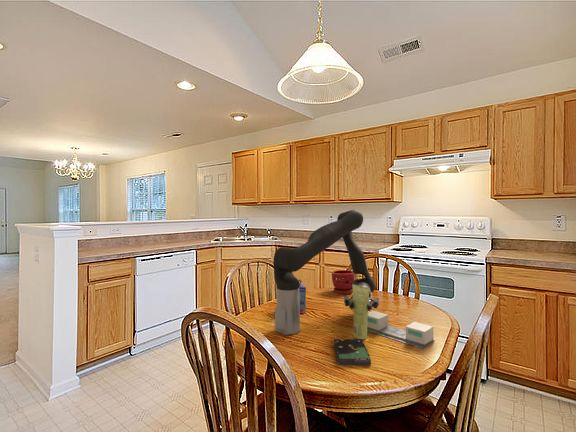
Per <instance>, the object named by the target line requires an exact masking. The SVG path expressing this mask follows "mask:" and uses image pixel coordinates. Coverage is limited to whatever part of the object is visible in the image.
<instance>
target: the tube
mask: <svg viewBox="0 0 576 432" xmlns="http://www.w3.org/2000/svg"><path fill="white" fill-rule="evenodd" d="M352 287H353V292H352V296H353V310H352V311H353V337H354V338H355V339H362V340H366V339H367V338H368V331H367V321H368V312H369V311H368V302H369V291H370V288H368V287H363V286H358V285H354V284H352Z"/></svg>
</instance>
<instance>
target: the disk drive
mask: <svg viewBox="0 0 576 432" xmlns="http://www.w3.org/2000/svg"><path fill="white" fill-rule="evenodd" d="M333 348H334V351H335V356H336V363H337V365H338V366H371V365H372V360H371V356H370V354H369V351H368V349H367V347H366V345H365V342H364V339H357V338H355V339H354V338H353V339H352V338H345V339H344V340H341V339H340V338H333Z"/></svg>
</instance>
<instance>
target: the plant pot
mask: <svg viewBox="0 0 576 432" xmlns="http://www.w3.org/2000/svg"><path fill="white" fill-rule="evenodd" d="M355 275H356V274H354V273H353V271H352V270H350V269H349V270H348V269H342V270H341V269H339V270H332V271H331V281H332V284H333V291H334V292H335V293H337V294H341V295H342V294H343V295H344V294H345V295H346V294H348V295H349V294H353V289H352V282H353V281H354V280H355V277H356V276H355Z"/></svg>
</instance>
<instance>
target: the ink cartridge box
mask: <svg viewBox="0 0 576 432" xmlns="http://www.w3.org/2000/svg"><path fill="white" fill-rule="evenodd" d="M298 280H299V285H300V287H299V288H300V314H306V310H307V309H306V307H307V305H306V303H307V302H306V301H307V300H306V299H307V298H306V297H307V296H306V295H307V292H306V291H307V290H306V289H307V287H306V286H304V285H303V284H302V282H303V281H302V280H301V279H300V278H299V279H298Z"/></svg>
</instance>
